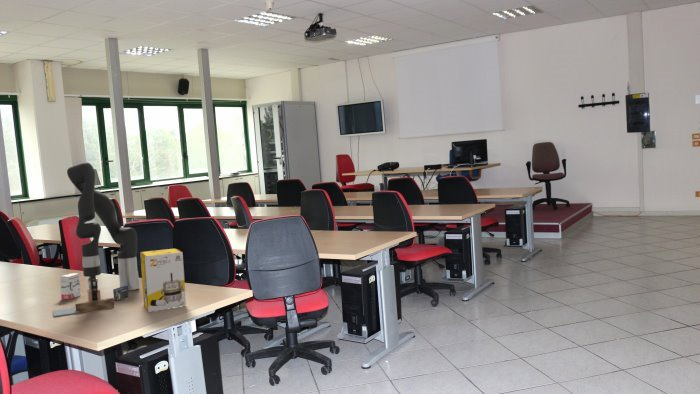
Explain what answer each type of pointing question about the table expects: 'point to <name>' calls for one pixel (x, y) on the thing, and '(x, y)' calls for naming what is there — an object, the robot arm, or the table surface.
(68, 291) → the ink box
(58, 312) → the slate mat
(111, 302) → the walnut screen
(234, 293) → the table surface
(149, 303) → the packaging box
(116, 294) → the mini dv tape
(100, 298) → the terracotta block
